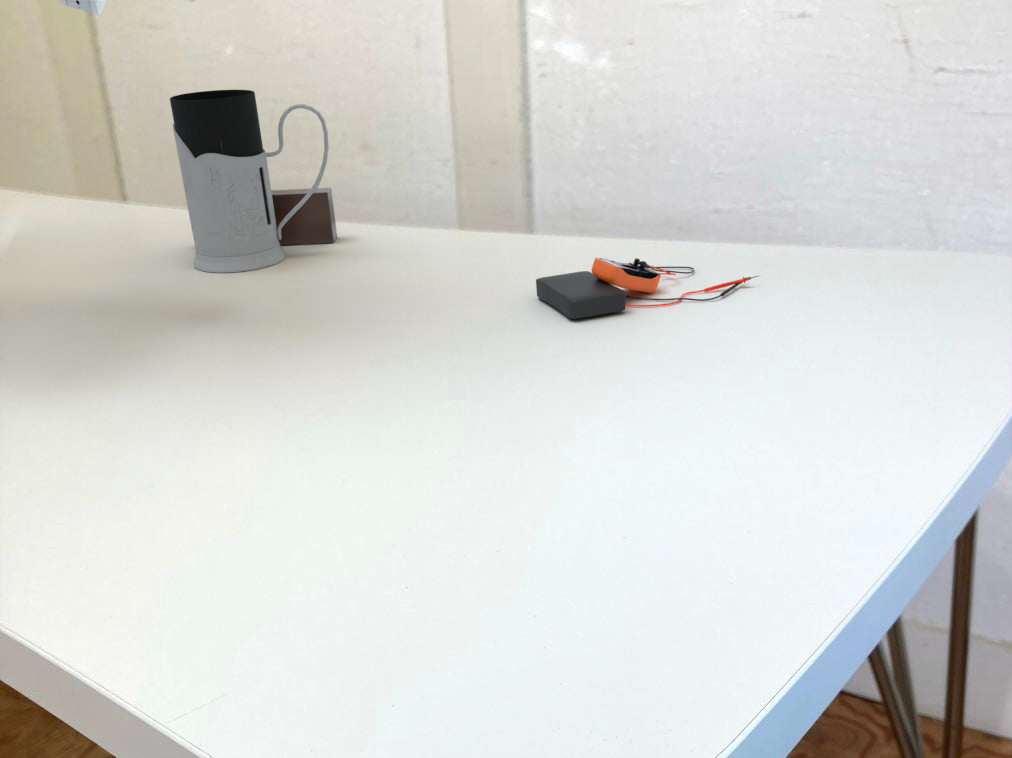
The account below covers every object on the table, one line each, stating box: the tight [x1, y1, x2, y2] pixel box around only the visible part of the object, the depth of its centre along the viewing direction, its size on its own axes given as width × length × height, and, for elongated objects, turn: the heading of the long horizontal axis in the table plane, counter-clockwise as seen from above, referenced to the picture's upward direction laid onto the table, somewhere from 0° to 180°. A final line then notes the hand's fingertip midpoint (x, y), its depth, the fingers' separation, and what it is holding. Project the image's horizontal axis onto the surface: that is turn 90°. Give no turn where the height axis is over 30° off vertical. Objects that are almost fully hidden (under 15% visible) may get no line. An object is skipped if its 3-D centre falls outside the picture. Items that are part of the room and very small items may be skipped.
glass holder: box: [169, 89, 329, 274], centre depth 99 cm, size 9×14×15 cm, turn 96°
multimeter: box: [535, 256, 762, 319], centre depth 87 cm, size 18×12×3 cm, turn 107°
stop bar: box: [271, 187, 338, 246], centre depth 107 cm, size 14×2×5 cm, turn 90°
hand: (83, 4), depth 82 cm, fingers closed
